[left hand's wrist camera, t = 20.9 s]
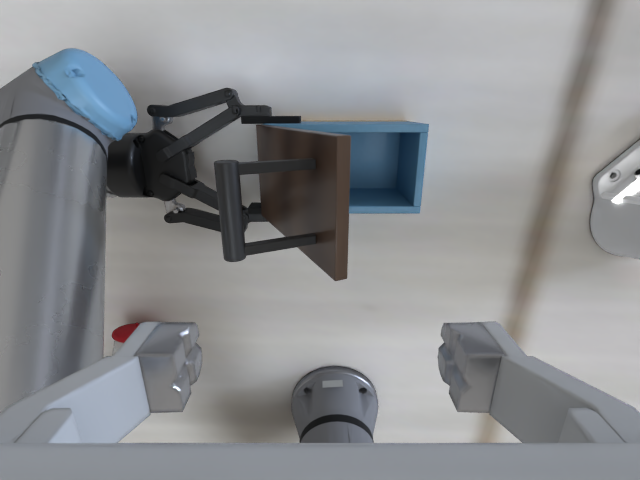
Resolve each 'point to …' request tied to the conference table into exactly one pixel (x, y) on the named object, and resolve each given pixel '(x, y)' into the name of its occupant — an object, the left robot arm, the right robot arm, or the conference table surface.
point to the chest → (381, 162)
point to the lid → (292, 196)
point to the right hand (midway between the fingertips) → (301, 165)
